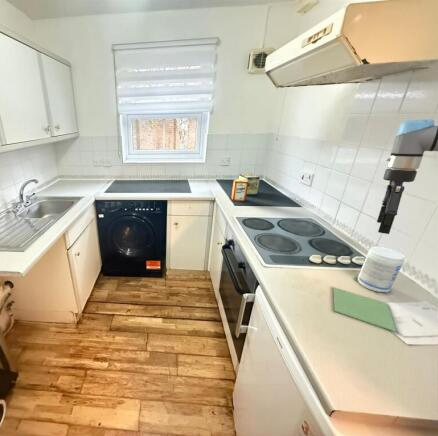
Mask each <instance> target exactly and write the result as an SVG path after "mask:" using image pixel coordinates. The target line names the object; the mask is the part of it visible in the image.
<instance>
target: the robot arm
mask: <svg viewBox="0 0 438 436" xmlns="http://www.w3.org/2000/svg"><path fill="white" fill-rule="evenodd" d="M425 152H438V125H436V124H435V120H434V119H432V118H431V119H410V120H404V121H402V122H401V123H400V124H399V126H398V129H397V132H396V135H395V138H394V141H393V144H392V148H391V152H390V156H389V157H388V158H386V160H385V161H386V162H387V164H386V167H387V168H386V169H385V171H384V173H383V177H382V178H383V180H384V181H389V184H387V186H386V190H385V194H384V197H383V200H382V201H381V202H382V203H381V207H380V210H379V214H378V217H377V220H376V223H379V224H380V225H379V228H378V231H377V233H379V234H385V235H390V232H391V229H392V226H393V224H394V220H395V217H396V216H397V215H398V211H399V207H400V203H401V200H402V196H403V193H404V191H405V186H404V185H403V184H404V183H412V182H414V181H415V180H416V177H417V173H418V171H417V170H418V169H419V168H420V166H421V163H422V161H423V158H424V153H425Z"/></svg>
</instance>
